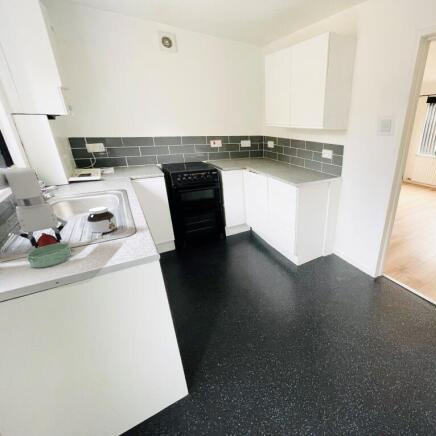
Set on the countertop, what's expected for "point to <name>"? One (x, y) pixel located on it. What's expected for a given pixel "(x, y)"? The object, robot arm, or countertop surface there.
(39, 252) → the green shallow round dish
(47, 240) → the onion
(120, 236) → the countertop surface
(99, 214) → the spread jar
